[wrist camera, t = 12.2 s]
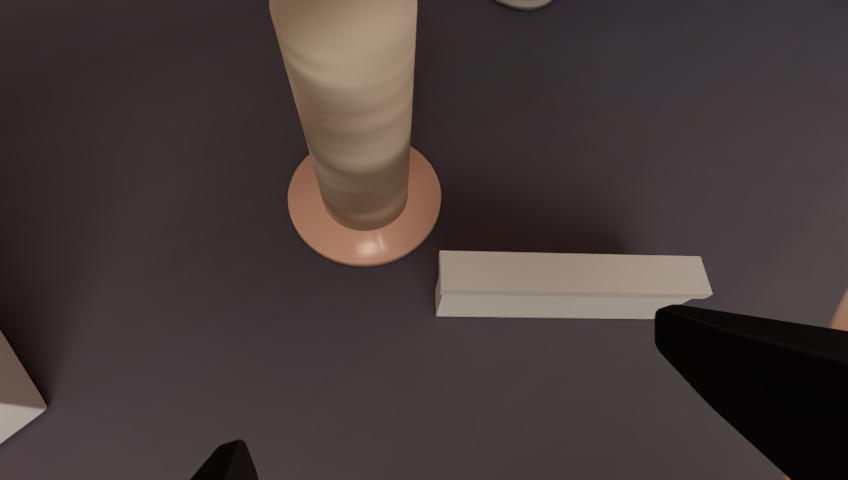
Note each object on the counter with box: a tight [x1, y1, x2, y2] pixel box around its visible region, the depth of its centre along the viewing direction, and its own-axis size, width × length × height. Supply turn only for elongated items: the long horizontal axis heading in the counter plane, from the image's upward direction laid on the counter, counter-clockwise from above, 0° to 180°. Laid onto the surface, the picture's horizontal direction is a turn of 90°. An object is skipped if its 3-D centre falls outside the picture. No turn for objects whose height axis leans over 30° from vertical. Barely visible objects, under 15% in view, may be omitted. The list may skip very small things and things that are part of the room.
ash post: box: [269, 0, 417, 231], centre depth 20 cm, size 5×5×12 cm
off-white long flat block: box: [435, 251, 713, 319], centre depth 22 cm, size 12×2×5 cm, turn 90°
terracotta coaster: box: [288, 146, 441, 267], centre depth 26 cm, size 9×9×1 cm
